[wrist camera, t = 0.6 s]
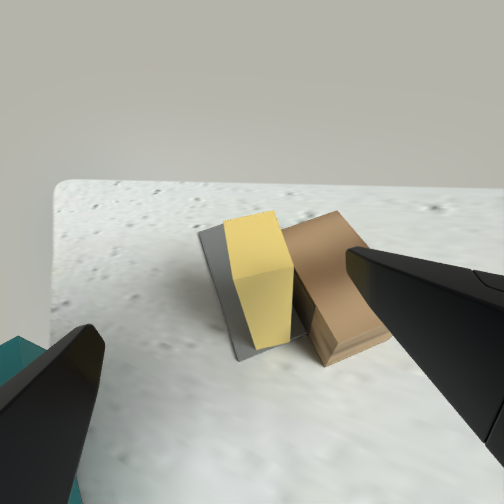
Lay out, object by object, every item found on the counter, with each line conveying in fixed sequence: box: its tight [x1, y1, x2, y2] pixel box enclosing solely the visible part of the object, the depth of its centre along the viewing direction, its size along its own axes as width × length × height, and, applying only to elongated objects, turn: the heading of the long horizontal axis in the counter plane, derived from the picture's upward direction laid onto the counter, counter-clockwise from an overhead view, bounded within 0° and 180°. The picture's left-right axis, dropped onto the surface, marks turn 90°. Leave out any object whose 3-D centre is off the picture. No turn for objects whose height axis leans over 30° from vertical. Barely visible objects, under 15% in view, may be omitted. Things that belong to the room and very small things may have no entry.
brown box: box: [281, 211, 393, 367], centre depth 21 cm, size 10×7×6 cm, turn 20°
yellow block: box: [223, 210, 294, 350], centre depth 18 cm, size 4×3×12 cm
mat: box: [199, 224, 307, 362], centre depth 26 cm, size 16×6×1 cm, turn 20°
